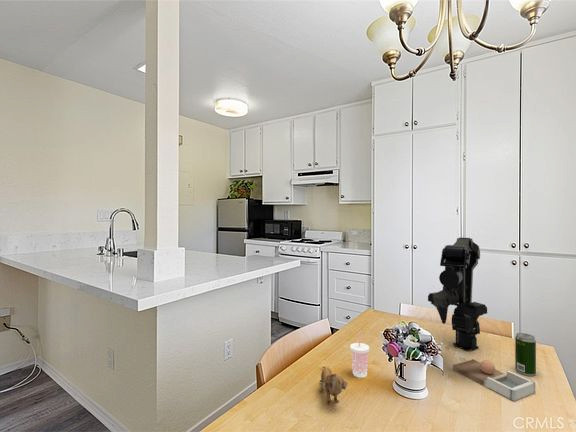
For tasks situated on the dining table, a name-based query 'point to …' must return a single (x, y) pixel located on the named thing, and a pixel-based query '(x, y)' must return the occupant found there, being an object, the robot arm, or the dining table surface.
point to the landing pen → (512, 386)
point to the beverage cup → (359, 358)
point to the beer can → (525, 354)
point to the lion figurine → (332, 384)
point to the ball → (487, 366)
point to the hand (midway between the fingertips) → (455, 327)
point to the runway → (478, 372)
